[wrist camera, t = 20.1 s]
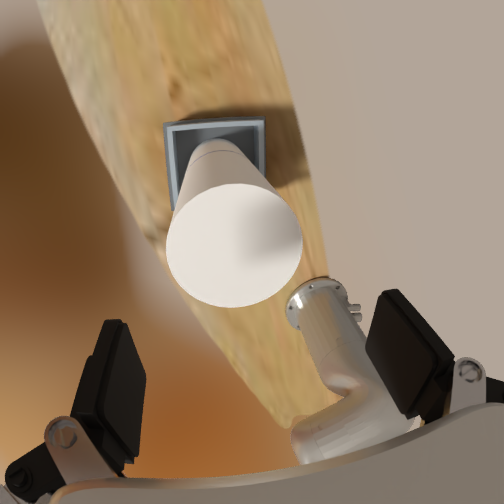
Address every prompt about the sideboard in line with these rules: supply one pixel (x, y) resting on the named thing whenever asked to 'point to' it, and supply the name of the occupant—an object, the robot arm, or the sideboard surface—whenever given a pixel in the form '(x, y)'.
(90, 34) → the sideboard surface
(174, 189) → the grey open box
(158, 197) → the sideboard surface
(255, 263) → the cylindrical container
